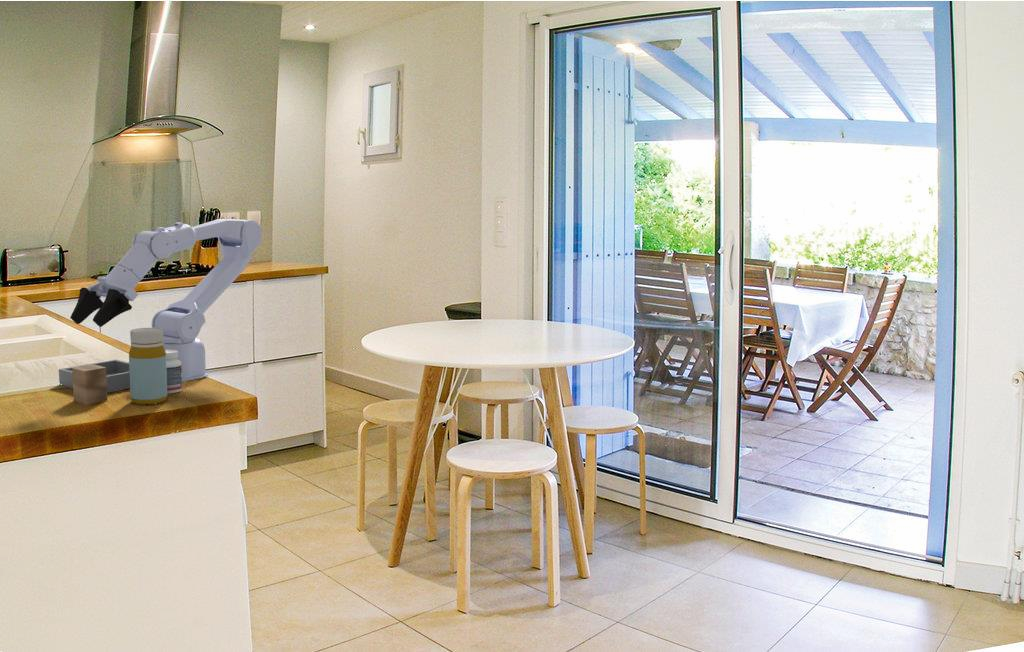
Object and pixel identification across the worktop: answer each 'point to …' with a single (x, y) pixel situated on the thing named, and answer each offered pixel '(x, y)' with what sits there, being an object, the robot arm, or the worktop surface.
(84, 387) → the walnut block
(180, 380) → the pill bottle
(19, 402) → the worktop surface
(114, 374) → the bin
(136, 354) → the bottle
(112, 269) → the robot arm
